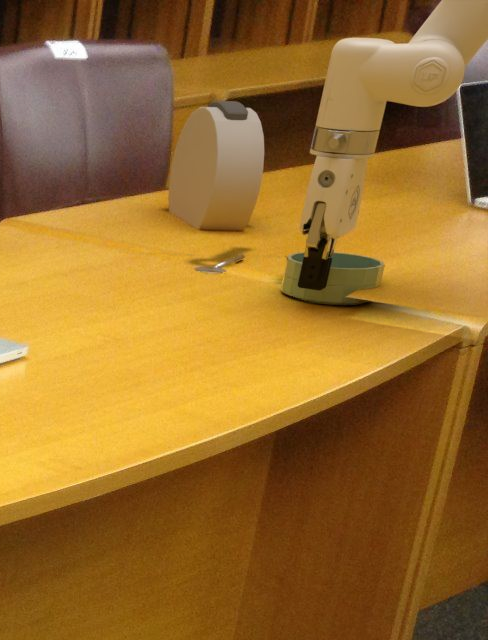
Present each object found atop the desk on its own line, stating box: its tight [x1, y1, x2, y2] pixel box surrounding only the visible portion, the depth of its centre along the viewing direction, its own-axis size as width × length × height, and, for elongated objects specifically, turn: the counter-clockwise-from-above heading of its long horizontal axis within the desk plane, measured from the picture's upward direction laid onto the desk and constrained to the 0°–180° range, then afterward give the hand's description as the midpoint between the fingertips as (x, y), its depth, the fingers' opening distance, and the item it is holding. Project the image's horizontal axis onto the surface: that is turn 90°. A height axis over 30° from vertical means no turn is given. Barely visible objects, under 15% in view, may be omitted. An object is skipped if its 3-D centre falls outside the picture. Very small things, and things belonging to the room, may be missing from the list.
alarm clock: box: [167, 100, 265, 232], centre depth 252 cm, size 21×8×20 cm, turn 179°
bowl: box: [280, 251, 386, 306], centre depth 208 cm, size 12×12×5 cm
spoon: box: [193, 253, 245, 274], centre depth 226 cm, size 16×4×1 cm, turn 141°
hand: (311, 287), depth 203 cm, fingers closed
